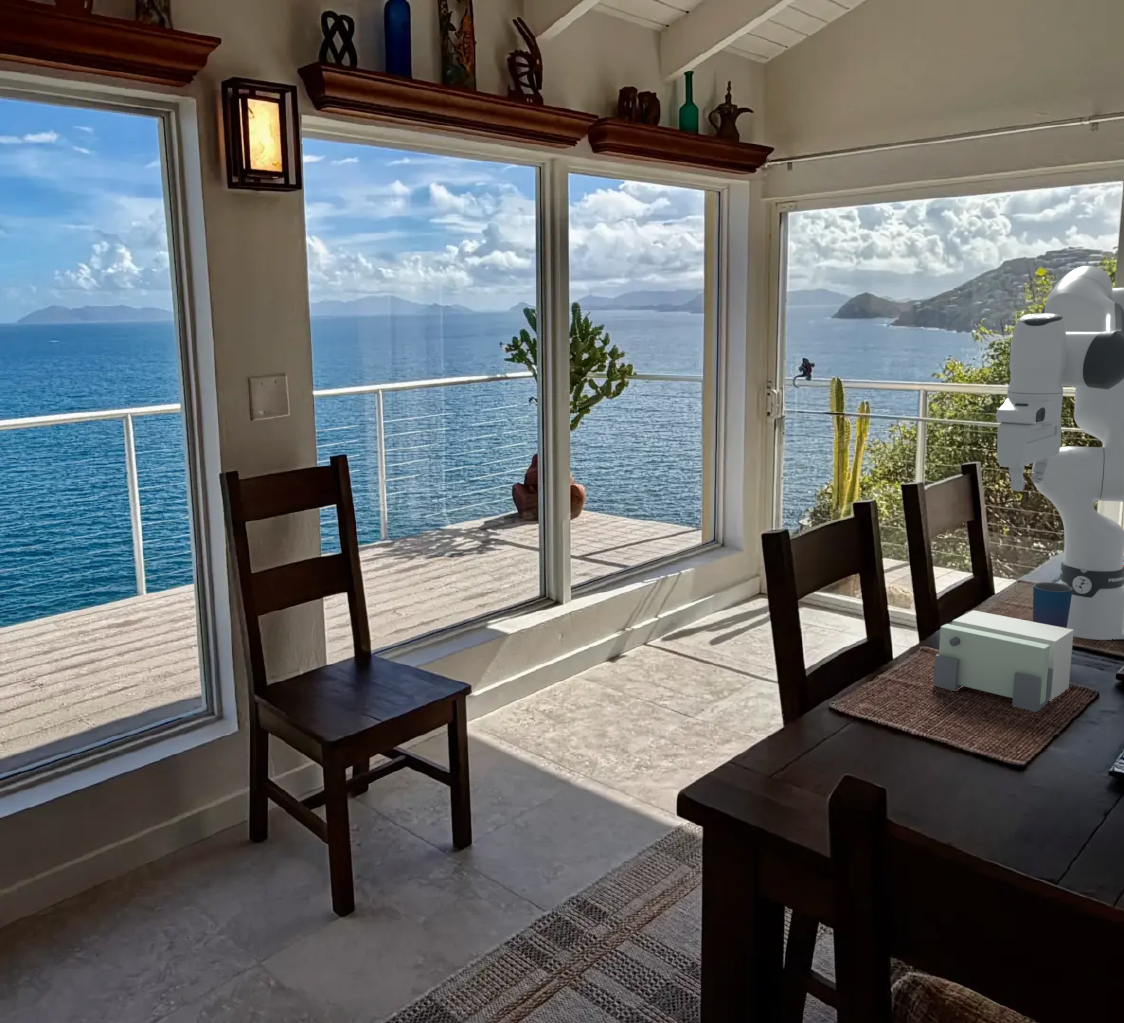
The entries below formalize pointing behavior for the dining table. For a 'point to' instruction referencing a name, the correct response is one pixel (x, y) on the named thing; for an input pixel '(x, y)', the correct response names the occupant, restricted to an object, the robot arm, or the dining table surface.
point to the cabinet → (1024, 684)
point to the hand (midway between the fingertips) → (1027, 486)
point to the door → (994, 659)
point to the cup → (1051, 603)
